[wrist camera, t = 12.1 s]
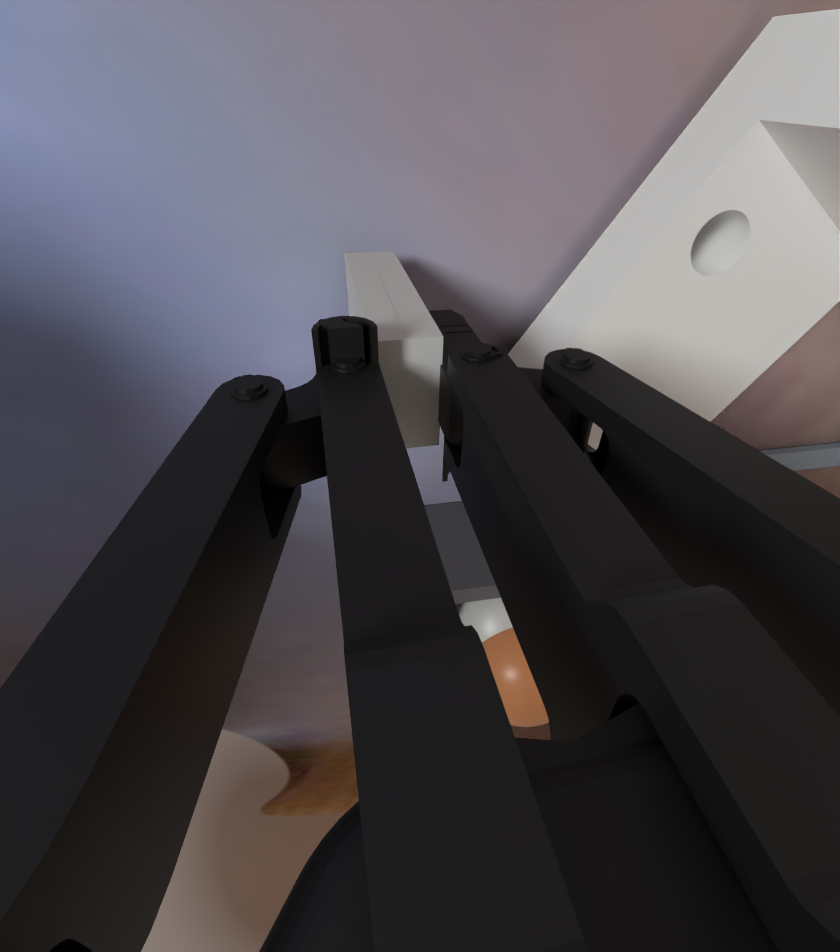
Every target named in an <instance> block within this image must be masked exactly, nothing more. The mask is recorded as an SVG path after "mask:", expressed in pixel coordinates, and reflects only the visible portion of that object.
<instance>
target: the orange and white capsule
mask: <svg viewBox="0 0 840 952" xmlns="http://www.w3.org/2000/svg"><path fill="white" fill-rule="evenodd" d="M456 607H457V611H458V614H459V616H460V619H461V621H462V623H463V624H464V626H469V625H472V626H473V627H474V629H475V630H476V631H477V633H478V635H479V637H480V640H481V642H482V644H483V647H484V649H485V652H486V655H487V658H488V661H489V664H490V667H491V670H492V673H493V676H494V679H495V681H496V684H497V687H498V690H499V693H500V696H501V699H502V702H503V705H504V708H505V711H506V714H507V716H508V719H509V722H510V725H513V726H519V727H534V726H540V725H543V724H546V723H549V720H548V715H547V712H546V709H545V706H544V704H543V701H542V699H541V696H540V694H539V691H538V689H537V686H536V684H535V681H534V679H533V676H532V674H531V671H530V669H529V667H528V664H527V662H526V659H525V657H524V654H523V652H522V649H521V647H520V644H519V642H518V639H517V637H516V634H515V632H514V629H513V627H512V624H511V622H510V619H509V617H508V614H507V612H506V609H505V607H504V604H503V602H502V599H501V598H495V599H487V600H480V601H473V602H466V603H459V604H456Z"/></svg>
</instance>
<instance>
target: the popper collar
mask: <svg viewBox="0 0 840 952" xmlns="http://www.w3.org/2000/svg"><path fill="white" fill-rule="evenodd" d="M424 507H425V510H426V513H427V516H428V519H429V523H430V526H431V529H432V532H433V535H434V538H435V541H436V545H437V548H438V551H439V554H440V557H441V560H442V563H443V567H444V570H445V573H446V576H447V579H448V582H449V585H450V589H451V592H452V595H453V598H454V601H455V604H459V603H466V602H473V601H480V600H487V599H495V598H501V597H500V594H499V592H498V589H497V587H496V584H495V582H494V579H493V577H492V574H491V572H490V569H489V567H488V564H487V562H486V559H485V557H484V554H483V552H482V549H481V547H480V544H479V542H478V539H477V537H476V534H475V532H474V529H473V527H472V524H471V522H470V519H469V517H468V514H467V512H466V509H465V507H464V504H463V502H453V503H443V504H434V505H425V506H424Z"/></svg>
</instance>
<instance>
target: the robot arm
mask: <svg viewBox="0 0 840 952" xmlns="http://www.w3.org/2000/svg"><path fill="white" fill-rule="evenodd" d="M344 254H345V267H346V280H347V294H348V307H349V316H338V317H331V318H327V319H320V320H319V321H318V322H317V323H316V324H315V325H313V328H312V330H311V331H312V339H313V347H314V355H315V363H316V375H315V376H314V378H313V379H312V380H310V381H309V382H308V383H306V384H304V385H302V386H299V387H296V388H293V389H290V390H286V391H285V389H284V385H283V384H282V383H281V381H280V380H278V379H275V378H273V377H270V376H263V375H243V376H242V377H241V376H239V377H236V378H234V379H232V380H230V381H228V382H225V383H223V384H222V385H221V386H220V387H218V388H217V389H216V390H215V392H214V393H213V394H212V396H211V397H210V399H209V400H208V401H207V403H206V404H205V406H204V407H203V408H202V410H201V411H200V412H199V414H198V415H197V417H196V418H195V419H194V421H193V422H192V424H191V425H190V426H189V428H188V429H187V430H186V432H185V433H184V435H183V436H182V437H181V439H180V440H179V442H178V443H177V444H176V446H175V447H174V449H173V450H172V451H171V453H170V454H169V455H168V457H167V458H166V460H165V461H164V462H163V464H162V465H161V467H160V468H159V469H158V471H157V472H156V473H155V475H154V476H153V478H152V479H151V480H150V482H149V483H148V485H147V486H146V487H145V489H144V490H143V492H142V493H141V494H140V496H139V497H138V498H137V500H136V501H135V503H134V504H133V505H132V507H131V508H130V510H129V511H128V512H127V514H126V515H125V516H124V518H123V519H122V521H121V522H120V523H119V525H118V526H117V528H116V529H115V530H114V532H113V533H112V535H111V536H110V537H109V539H108V540H107V541H106V543H105V544H104V546H103V547H102V548H101V550H100V551H99V553H98V554H97V555H96V557H95V558H94V559H93V561H92V562H91V564H90V565H89V566H88V568H87V569H86V571H85V572H84V573H83V575H82V576H81V578H80V579H79V580H78V582H77V583H76V584H75V586H74V587H73V589H72V590H71V591H70V593H69V594H68V596H67V597H66V598H65V600H64V601H63V602H62V604H61V605H60V607H59V608H58V609H57V611H56V612H55V614H54V615H53V616H52V618H51V619H50V621H49V622H48V623H47V625H46V626H45V627H44V629H43V630H42V632H41V633H40V634H39V636H38V637H37V639H36V640H35V641H34V643H33V644H32V645H31V647H30V648H29V650H28V651H27V652H26V654H25V655H24V657H23V658H22V659H21V661H20V662H19V664H18V665H17V666H16V668H15V669H14V670H13V672H12V673H11V675H10V676H9V677H8V679H7V680H6V682H5V683H4V684H3V686H2V687H1V688H0V952H141V950H142V948H143V946H144V944H145V942H146V940H147V937H148V935H149V933H150V931H151V928H152V926H153V923H154V921H155V918H156V916H157V913H158V910H159V908H160V905H161V903H162V900H163V897H164V895H165V892H166V890H167V887H168V885H169V882H170V879H171V877H172V874H173V871H174V868H175V865H176V862H177V859H178V856H179V853H180V851H181V847H182V845H183V842H184V839H185V836H186V833H187V830H188V827H189V824H190V821H191V818H192V815H193V812H194V809H195V806H196V803H197V800H198V797H199V794H200V791H201V788H202V786H203V783H204V780H205V777H206V774H207V771H208V768H209V765H210V762H211V759H212V756H213V753H214V750H215V747H216V744H217V742H218V738H219V736H220V733H221V730H222V727H223V724H224V721H225V718H226V715H227V712H228V709H229V706H230V703H231V700H232V697H233V695H234V692H235V689H236V686H237V683H238V680H239V677H240V674H241V671H242V668H243V665H244V662H245V659H246V656H247V653H248V650H249V647H250V644H251V642H252V639H253V636H254V633H255V630H256V627H257V624H258V621H259V618H260V615H261V612H262V609H263V606H264V603H265V600H266V597H267V594H268V591H269V589H270V586H271V583H272V580H273V577H274V574H275V571H276V568H277V565H278V562H279V559H280V556H281V553H282V550H283V547H284V544H285V541H286V538H287V536H288V533H289V530H290V527H291V524H292V521H293V518H294V515H295V512H296V509H297V506H298V503H299V500H300V497H301V484H304V483H307V482H310V481H313V480H315V479H318V478H321V477H324V476H327V480H328V489H329V499H330V509H331V519H332V528H333V538H334V548H335V558H336V567H337V577H338V587H339V597H340V607H341V616H342V626H343V636H344V655H345V666H346V676H347V686H348V696H349V706H350V716H351V726H352V736H353V746H354V756H355V766H356V776H357V786H358V796H359V801H358V802H357V803H356V804H355V805H354V806H353V807H352V808H351V809H350V810H348V811H347V812H346V813H345V814H344V815H343V816H342V817H341V818H340V819H339V820H338V821H337V823H336V824H335V825H334V826H333V827H332V828H331V829H330V831H329V832H328V833H327V834H326V835H325V836H324V838H323V839H322V840H321V842H320V843H319V845H318V846H317V848H316V849H315V851H314V852H313V854H312V855H311V856H310V858H309V860H308V861H307V863H306V864H305V866H304V868H303V870H302V871H301V873H300V875H299V877H298V879H297V880H296V882H295V884H294V886H293V888H292V890H291V892H290V894H289V896H288V898H287V900H286V901H285V904H284V905H283V907H282V909H281V911H280V913H279V915H278V917H277V919H276V921H275V923H274V924H273V926H272V928H271V930H270V932H269V934H268V936H267V938H266V940H265V942H264V944H263V945H262V947H261V949H260V951H259V952H840V499H839V498H838V497H836V496H834V495H832V494H831V493H829V492H827V491H826V490H824V489H822V488H821V487H819V486H817V485H816V484H814V483H812V482H811V481H809V480H807V479H806V478H804V477H802V476H800V475H799V474H797V473H795V472H794V471H792V470H790V469H789V468H787V467H785V466H784V465H782V464H780V463H779V462H777V461H775V460H774V459H772V458H770V457H768V456H767V455H765V454H763V453H762V452H760V451H758V450H757V449H755V448H753V447H752V446H750V445H748V444H747V443H745V442H743V441H742V440H740V439H738V438H737V437H735V436H733V435H731V434H730V433H728V432H726V431H725V430H723V429H721V428H720V427H718V426H716V425H715V424H713V423H711V422H710V421H708V420H706V419H705V418H703V417H701V416H699V415H698V414H696V413H694V412H693V411H691V410H689V409H688V408H686V407H684V406H683V405H681V404H679V403H678V402H676V401H674V400H673V399H671V398H669V397H667V396H666V395H664V394H662V393H661V392H659V391H657V390H656V389H654V388H652V387H651V386H649V385H647V384H646V383H644V382H642V381H641V380H639V379H637V378H635V377H634V376H632V375H630V374H629V373H627V372H625V371H624V370H622V369H620V368H619V367H617V366H615V365H614V364H612V363H610V362H609V361H607V360H605V359H603V358H602V357H600V356H598V355H596V354H593V353H591V352H587V351H583V350H582V349H579V348H574V349H573V348H565V349H560V350H555V351H552V352H549V353H548V354H547V355H546V356H545V359H544V365H543V369H533V368H522V367H517V366H516V364H515V363H514V362H513V360H512V359H511V358H510V356H509V355H508V354H507V353H506V352H505V351H504V350H502V349H501V348H499V347H497V346H494V345H490V344H484V343H481V342H480V340H479V339H478V337H477V336H476V335H475V333H474V332H473V330H472V329H471V327H470V326H468V323H467V322H466V320H465V319H464V318H463V316H461V315H459V314H457V313H455V312H454V311H452V310H437V311H428V309H427V308H426V306H425V304H424V303H423V301H422V299H421V297H420V296H419V294H418V292H417V291H416V289H415V287H414V285H413V284H412V282H411V280H410V279H409V277H408V275H407V273H406V272H405V270H404V268H403V267H402V265H401V263H400V262H399V260H398V258H397V256H396V255H395V253H394V251H389V252H366V253H344ZM593 423H594V424H596V425H597V426H598V427H600V428H601V429H602V430H603V432H602V435H601V439H600V443H599V446H598V448H597V450H596V449H594V448H592V447H591V446H590V445H589V444H588V440H589V436H590V432H591V429H592V425H593ZM440 426H441V429H442V431H443V433H444V453H443V474H442V477H443V481H447V478H448V474H449V472H451V474H452V477H453V479H454V482H455V484H456V487H457V489H458V492H459V494H460V497H461V499H462V502H463V504H464V507H465V509H466V512H467V514H468V517H469V519H470V522H471V524H472V527H473V529H474V532H475V534H476V537H477V539H478V542H479V544H480V547H481V549H482V552H483V554H484V557H485V559H486V562H487V564H488V567H489V569H490V572H491V574H492V577H493V579H494V582H495V584H496V587H497V589H498V592H499V594H500V597H501V599H502V602H503V604H504V607H505V609H506V612H507V614H508V617H509V619H510V622H511V624H512V627H513V629H514V632H515V634H516V637H517V639H518V642H519V644H520V647H521V649H522V652H523V654H524V657H525V659H526V662H527V664H528V667H529V669H530V671H531V674H532V676H533V679H534V681H535V684H536V686H537V689H538V691H539V694H540V696H541V699H542V701H543V704H544V706H545V709H546V712H547V715H548V720H549V724H550V734H551V740H540V739H525V738H515V737H514V734H513V731H512V728H511V725H510V722H509V719H508V716H507V714H506V711H505V708H504V705H503V702H502V699H501V696H500V693H499V690H498V687H497V684H496V681H495V679H494V676H493V673H492V670H491V667H490V664H489V661H488V658H487V655H486V652H485V649H484V647H483V644H482V642H481V640H480V637H479V635H478V633H477V631H476V630H475V629H474V627H473V626H472V625H469V626H464V624H463V623H462V621H461V619H460V616H459V614H458V611H457V607H456V604H455V601H454V598H453V595H452V592H451V589H450V585H449V582H448V579H447V576H446V573H445V570H444V567H443V563H442V560H441V557H440V554H439V551H438V548H437V545H436V541H435V538H434V535H433V532H432V529H431V526H430V523H429V519H428V516H427V513H426V510H425V507H424V504H423V501H422V497H421V494H420V491H419V488H418V485H417V482H416V479H415V475H414V472H413V469H412V466H411V463H410V460H409V456H408V453H407V450H406V448H411V447H421V446H430V445H439V431H440Z"/></svg>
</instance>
